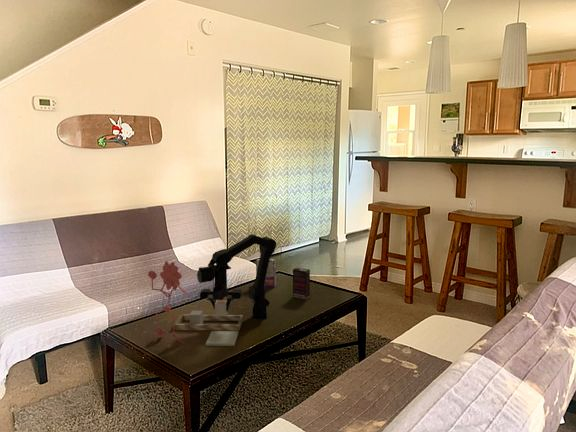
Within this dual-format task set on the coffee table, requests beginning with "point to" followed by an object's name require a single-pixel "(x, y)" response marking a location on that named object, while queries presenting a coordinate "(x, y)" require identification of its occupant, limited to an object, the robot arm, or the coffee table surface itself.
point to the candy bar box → (269, 273)
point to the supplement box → (301, 283)
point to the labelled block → (221, 308)
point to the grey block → (196, 317)
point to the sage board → (222, 338)
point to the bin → (210, 326)
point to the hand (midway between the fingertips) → (221, 311)
